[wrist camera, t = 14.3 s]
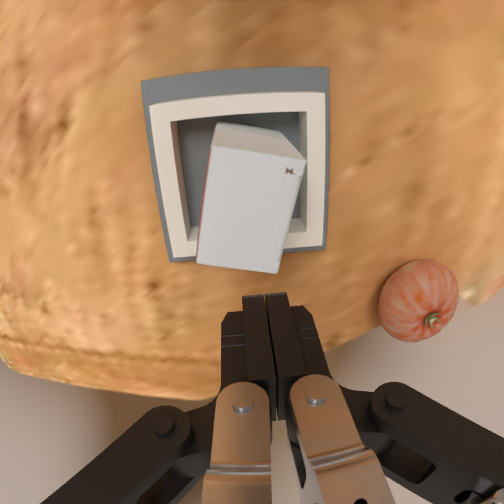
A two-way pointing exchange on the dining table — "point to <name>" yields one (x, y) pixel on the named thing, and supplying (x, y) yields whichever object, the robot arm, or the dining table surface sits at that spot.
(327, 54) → the dining table surface
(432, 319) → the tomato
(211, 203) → the small box
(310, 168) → the socket board
